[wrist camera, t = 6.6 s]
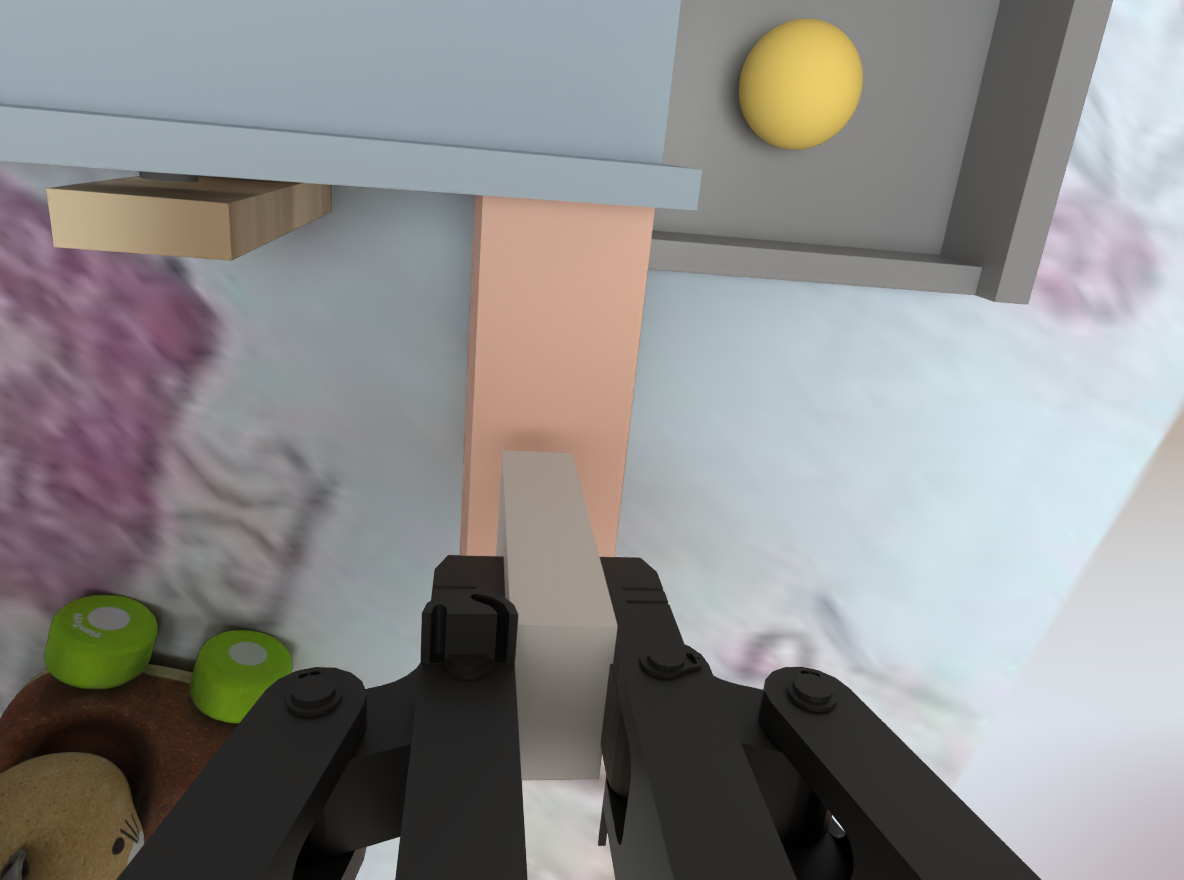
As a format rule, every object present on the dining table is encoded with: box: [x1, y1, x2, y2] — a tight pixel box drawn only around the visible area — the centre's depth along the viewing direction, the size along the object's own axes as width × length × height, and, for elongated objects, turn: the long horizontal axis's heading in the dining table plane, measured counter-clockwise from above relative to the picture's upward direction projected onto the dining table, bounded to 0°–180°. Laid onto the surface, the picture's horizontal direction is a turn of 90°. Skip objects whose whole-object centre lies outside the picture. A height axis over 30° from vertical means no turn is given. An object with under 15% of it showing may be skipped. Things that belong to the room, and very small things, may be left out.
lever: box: [0, 0, 702, 557], centre depth 16 cm, size 20×16×5 cm
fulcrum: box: [46, 175, 331, 260], centre depth 18 cm, size 4×9×10 cm, turn 175°
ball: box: [739, 19, 863, 150], centre depth 22 cm, size 3×3×3 cm
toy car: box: [0, 595, 293, 880], centre depth 24 cm, size 9×9×11 cm
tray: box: [648, 0, 1113, 304], centre depth 22 cm, size 13×10×4 cm
